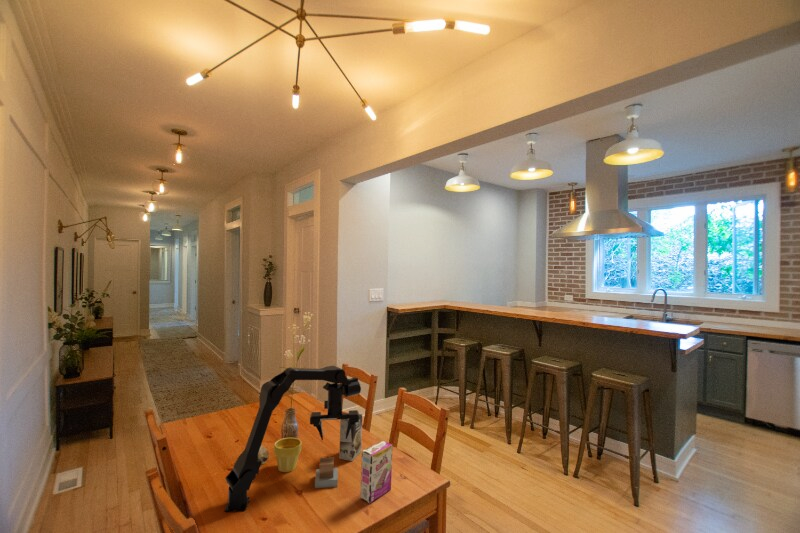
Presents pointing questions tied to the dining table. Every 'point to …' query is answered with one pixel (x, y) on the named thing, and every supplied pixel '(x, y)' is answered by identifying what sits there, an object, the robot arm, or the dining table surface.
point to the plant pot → (287, 453)
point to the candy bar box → (376, 471)
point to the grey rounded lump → (263, 454)
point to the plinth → (326, 480)
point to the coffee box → (350, 440)
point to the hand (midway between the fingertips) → (334, 439)
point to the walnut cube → (326, 467)
